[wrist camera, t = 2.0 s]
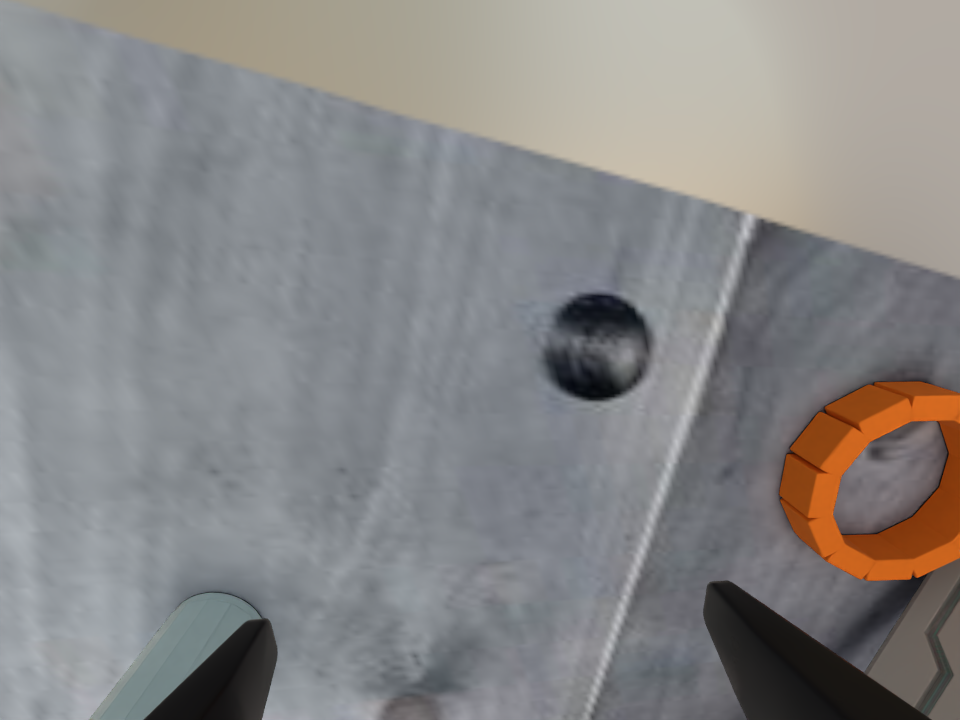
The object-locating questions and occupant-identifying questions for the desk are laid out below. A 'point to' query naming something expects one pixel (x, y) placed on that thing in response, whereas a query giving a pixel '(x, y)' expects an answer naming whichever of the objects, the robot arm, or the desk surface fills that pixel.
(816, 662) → the robot arm
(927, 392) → the ring
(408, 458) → the desk surface
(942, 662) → the gun
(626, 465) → the desk surface
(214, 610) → the cup
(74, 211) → the desk surface
